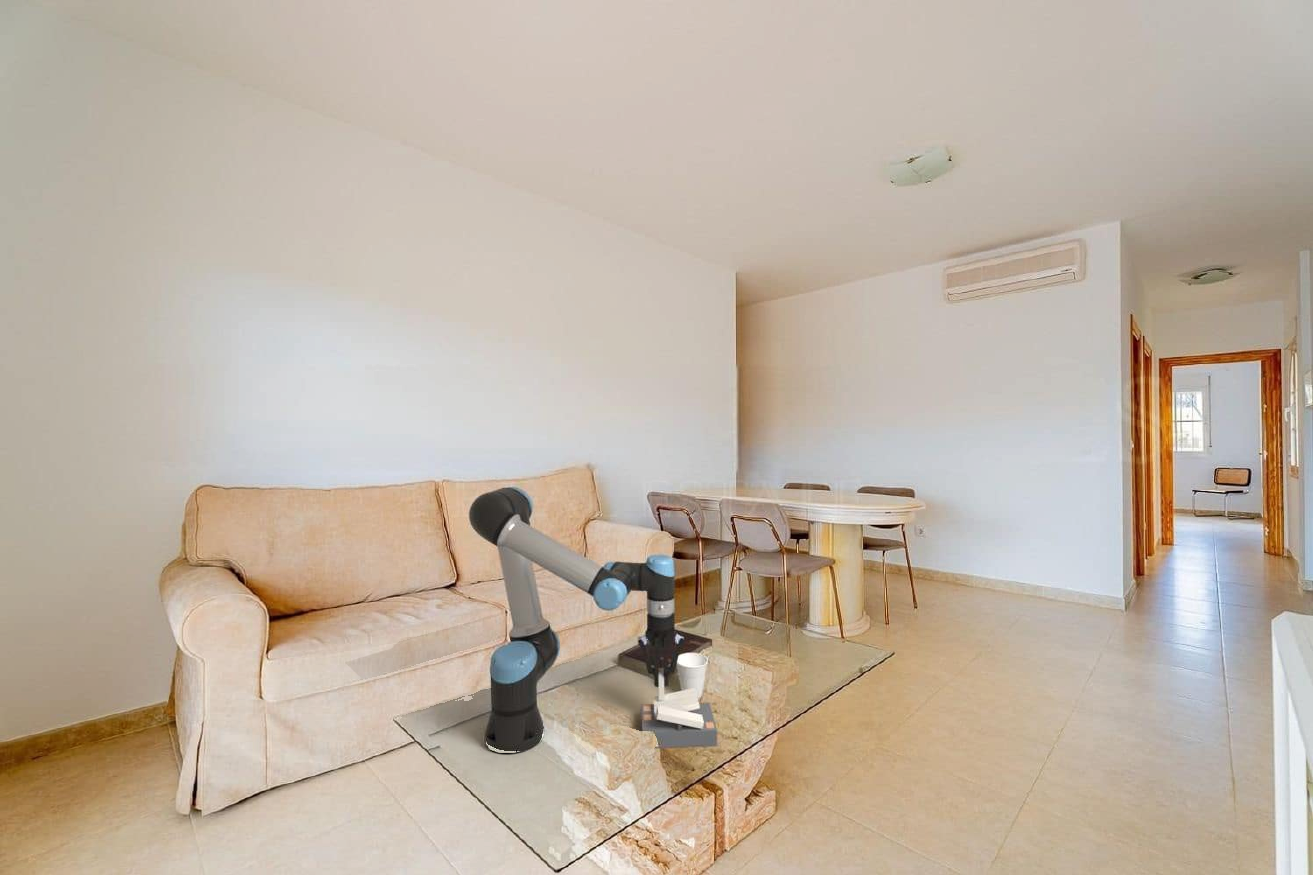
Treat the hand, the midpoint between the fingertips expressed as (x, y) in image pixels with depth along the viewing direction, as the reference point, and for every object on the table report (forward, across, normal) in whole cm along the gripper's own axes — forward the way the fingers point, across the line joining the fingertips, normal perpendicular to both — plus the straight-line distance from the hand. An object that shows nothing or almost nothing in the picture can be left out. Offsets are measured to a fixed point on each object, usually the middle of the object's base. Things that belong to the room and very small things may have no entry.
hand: (661, 697), depth 153 cm
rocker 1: (+1, +4, 0) cm, 4 cm away
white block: (+1, +4, -5) cm, 6 cm away
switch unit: (+7, +4, -5) cm, 9 cm away
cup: (+7, +10, +14) cm, 19 cm away
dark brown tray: (+8, +4, +40) cm, 41 cm away
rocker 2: (+1, +4, -9) cm, 10 cm away
